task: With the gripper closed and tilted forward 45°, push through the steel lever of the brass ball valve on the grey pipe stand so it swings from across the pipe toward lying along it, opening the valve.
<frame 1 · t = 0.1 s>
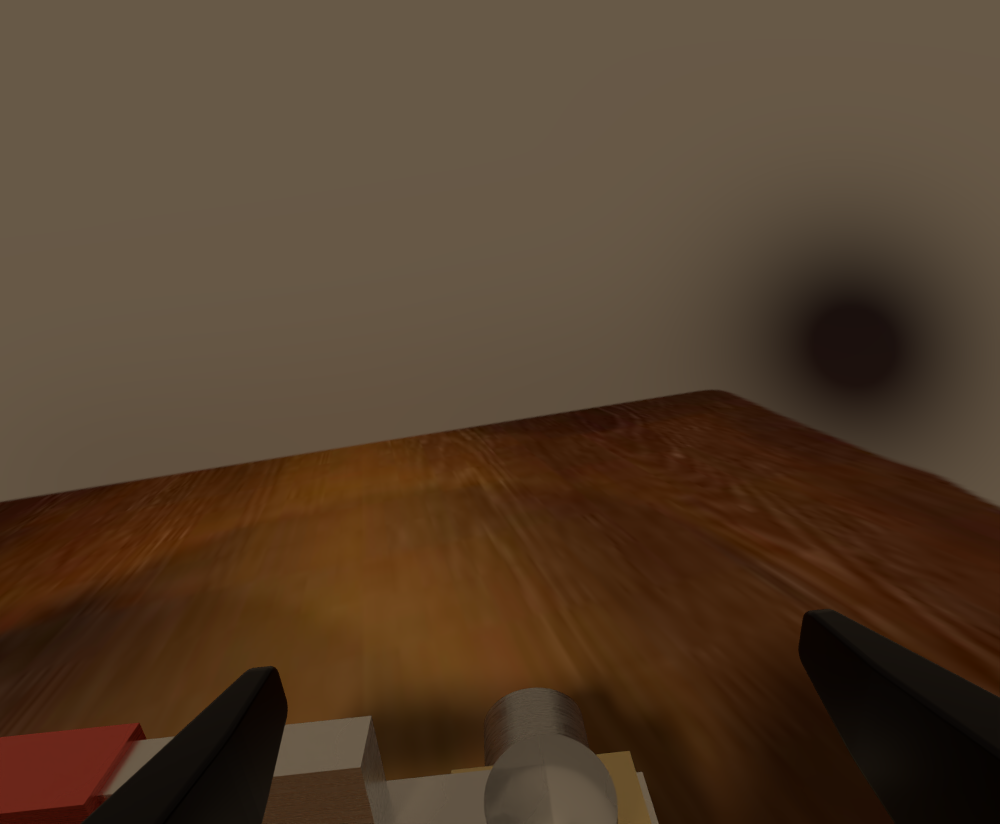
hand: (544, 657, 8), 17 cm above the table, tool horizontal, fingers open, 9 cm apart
valve lever: (254, 811, 12), point 11 cm above the table, hinge at 0.0°
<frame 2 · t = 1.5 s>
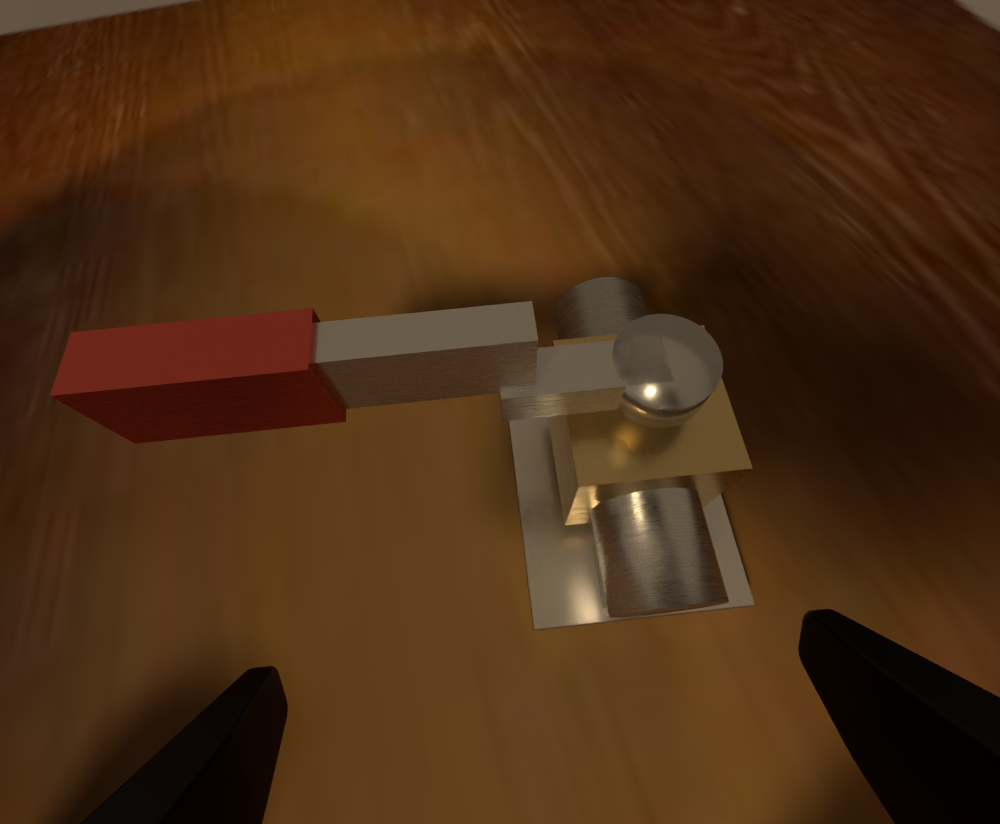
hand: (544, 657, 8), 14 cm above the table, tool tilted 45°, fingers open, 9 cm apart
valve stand: (608, 474, 24), on the table
valve lever: (428, 371, 14), point 11 cm above the table, hinge at 0.0°
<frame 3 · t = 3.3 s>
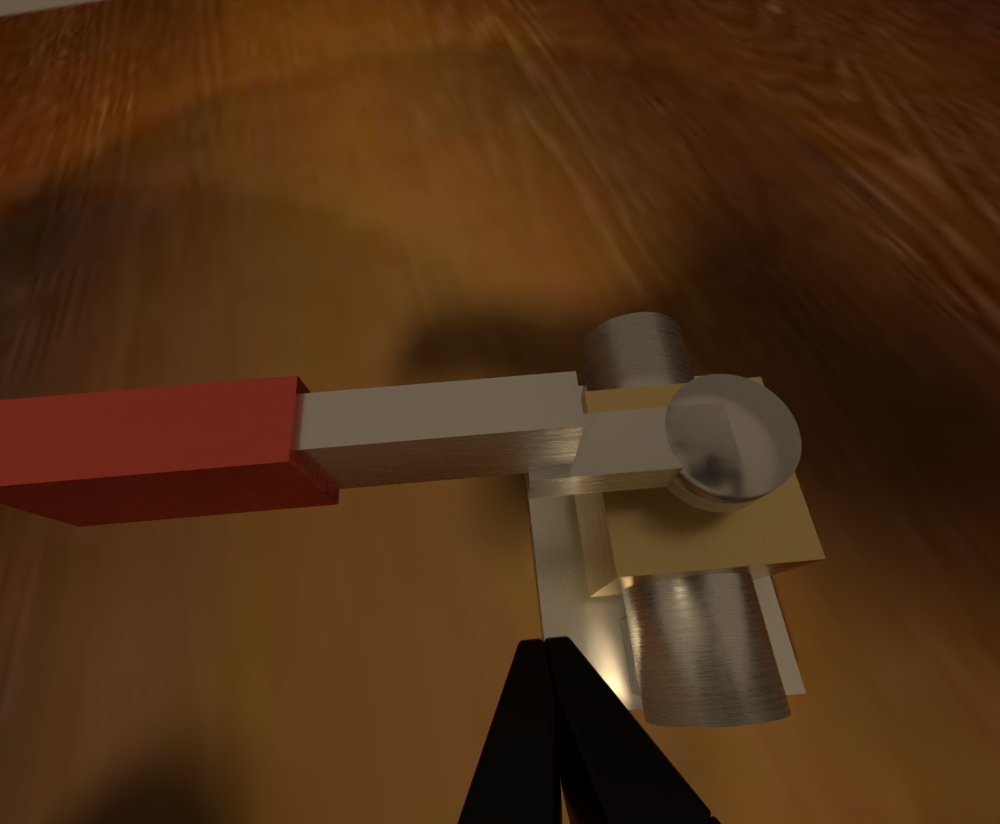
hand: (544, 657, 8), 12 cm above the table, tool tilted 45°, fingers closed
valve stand: (635, 528, 22), on the table
valve lever: (441, 446, 11), point 11 cm above the table, hinge at 0.0°
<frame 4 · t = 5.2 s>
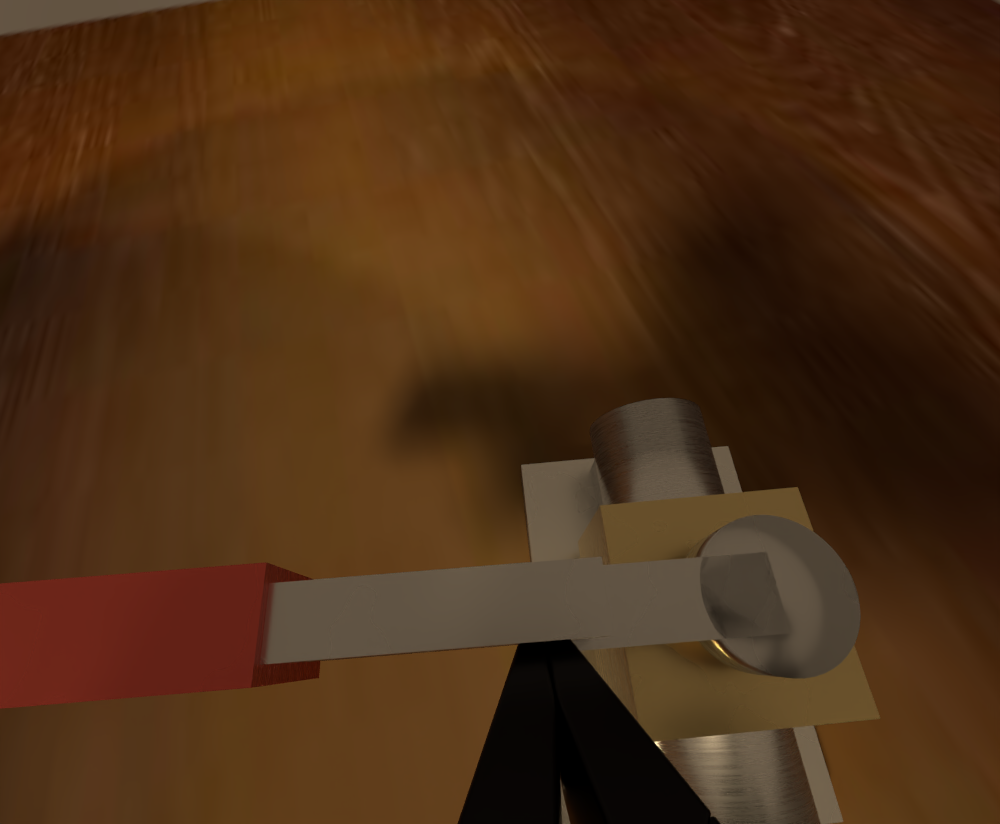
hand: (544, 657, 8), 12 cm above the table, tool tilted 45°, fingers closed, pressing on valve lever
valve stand: (650, 619, 20), on the table
valve lever: (439, 616, 10), point 11 cm above the table, hinge at 0.8°, touching gripper
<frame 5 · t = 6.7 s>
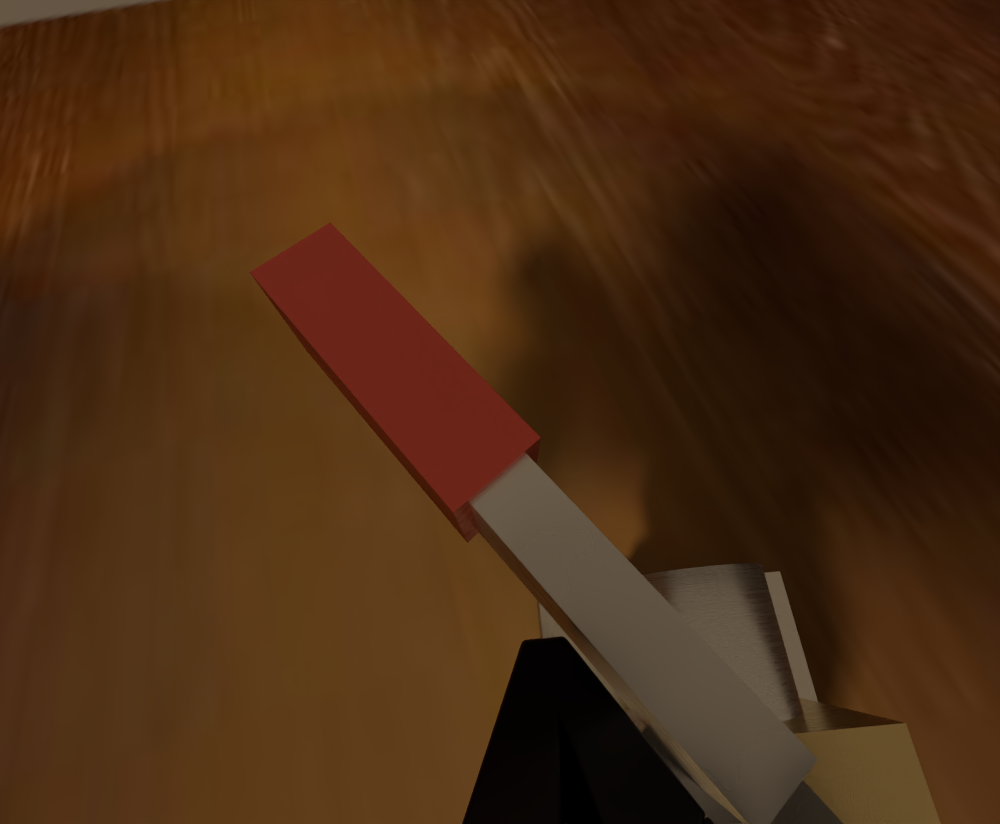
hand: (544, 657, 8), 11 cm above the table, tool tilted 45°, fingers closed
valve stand: (689, 786, 17), on the table
valve lever: (595, 611, 9), point 11 cm above the table, hinge at 53.4°, touching gripper
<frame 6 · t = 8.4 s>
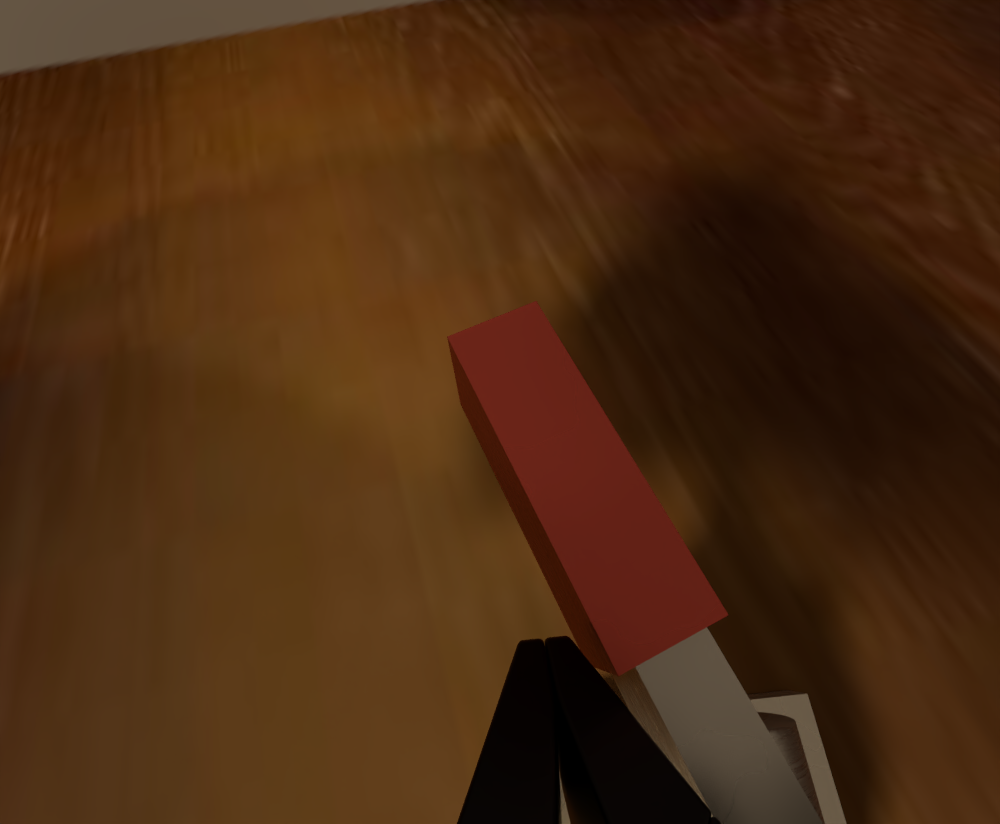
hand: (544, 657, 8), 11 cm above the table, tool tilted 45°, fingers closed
valve lever: (724, 803, 8), point 11 cm above the table, hinge at 70.0°, touching gripper
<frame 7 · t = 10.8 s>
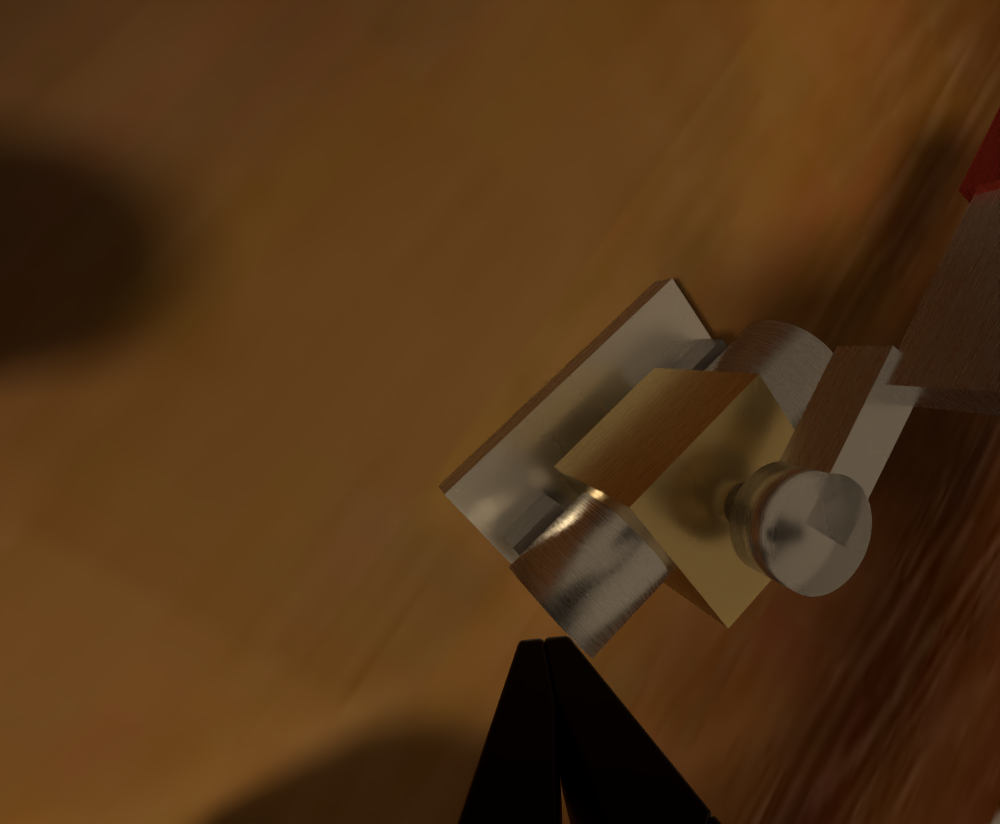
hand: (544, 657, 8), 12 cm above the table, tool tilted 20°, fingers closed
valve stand: (611, 454, 23), on the table
valve lever: (971, 291, 12), point 11 cm above the table, hinge at 70.1°
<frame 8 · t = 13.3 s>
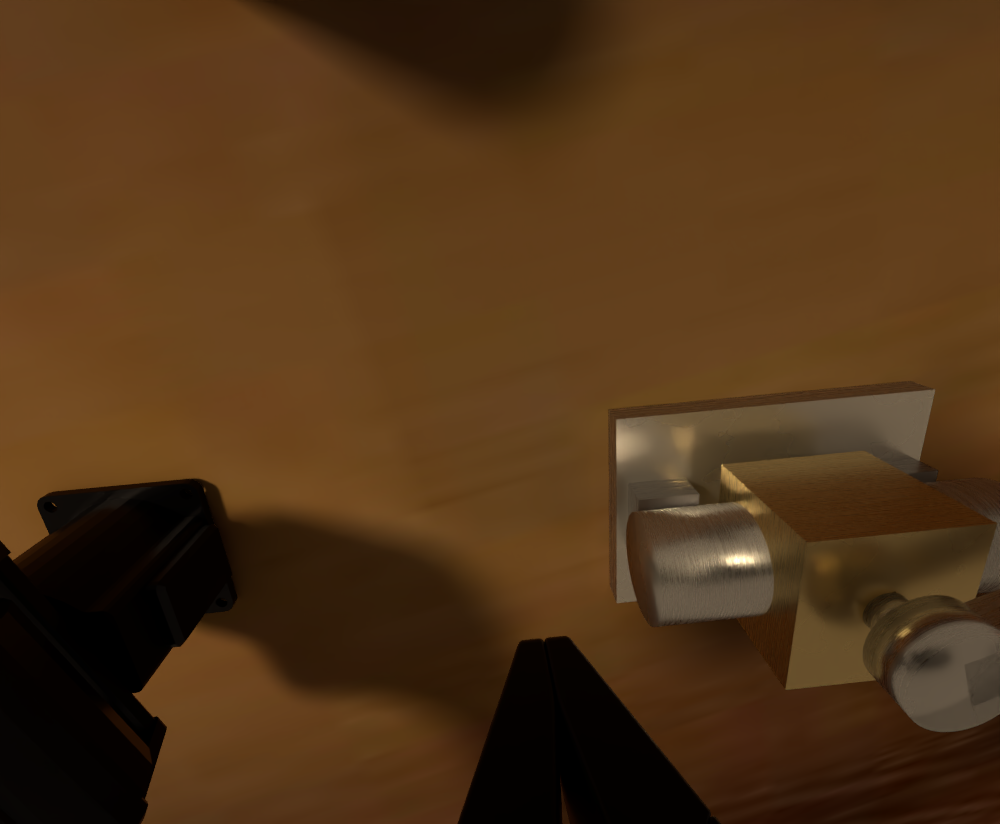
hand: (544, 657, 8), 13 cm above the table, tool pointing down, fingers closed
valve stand: (751, 489, 23), on the table
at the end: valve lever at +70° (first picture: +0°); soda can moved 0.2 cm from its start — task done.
